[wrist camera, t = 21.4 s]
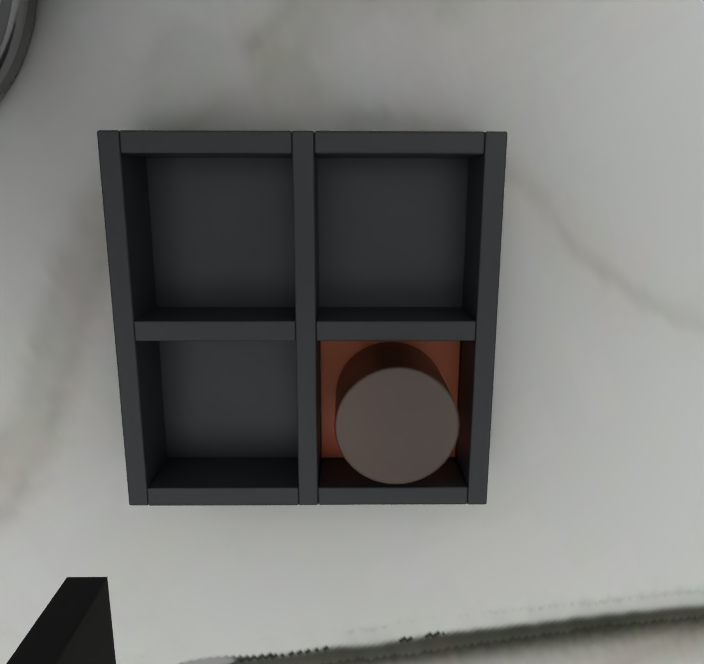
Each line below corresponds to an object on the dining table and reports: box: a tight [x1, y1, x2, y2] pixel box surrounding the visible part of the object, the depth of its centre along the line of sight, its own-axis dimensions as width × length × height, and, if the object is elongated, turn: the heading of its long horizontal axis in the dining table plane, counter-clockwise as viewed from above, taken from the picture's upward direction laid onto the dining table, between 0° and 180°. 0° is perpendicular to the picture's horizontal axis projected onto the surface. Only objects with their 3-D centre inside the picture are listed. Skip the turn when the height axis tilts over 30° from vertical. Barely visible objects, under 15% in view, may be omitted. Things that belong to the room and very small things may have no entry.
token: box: [334, 342, 460, 484], centre depth 25 cm, size 5×5×4 cm
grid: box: [97, 130, 507, 506], centre depth 25 cm, size 15×15×4 cm
